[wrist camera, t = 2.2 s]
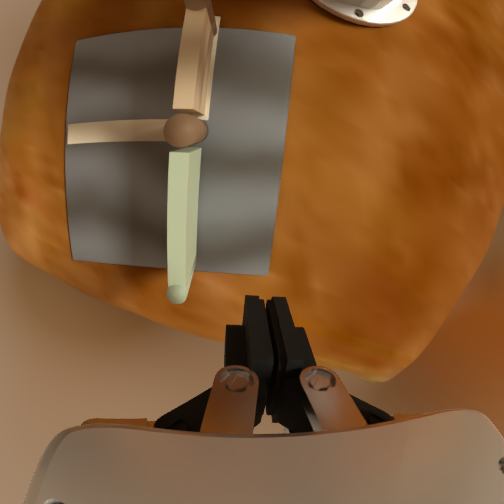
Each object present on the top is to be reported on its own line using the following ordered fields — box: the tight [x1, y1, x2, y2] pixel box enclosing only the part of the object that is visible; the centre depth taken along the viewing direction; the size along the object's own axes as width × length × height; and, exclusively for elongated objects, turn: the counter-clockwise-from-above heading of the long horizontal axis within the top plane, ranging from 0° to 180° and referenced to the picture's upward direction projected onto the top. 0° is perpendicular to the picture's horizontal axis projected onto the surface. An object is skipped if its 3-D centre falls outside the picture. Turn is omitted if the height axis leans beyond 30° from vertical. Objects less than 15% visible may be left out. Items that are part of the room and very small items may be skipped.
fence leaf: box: [167, 147, 202, 304], centre depth 21 cm, size 10×1×6 cm, turn 174°
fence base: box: [65, 0, 296, 276], centre depth 19 cm, size 22×19×7 cm
